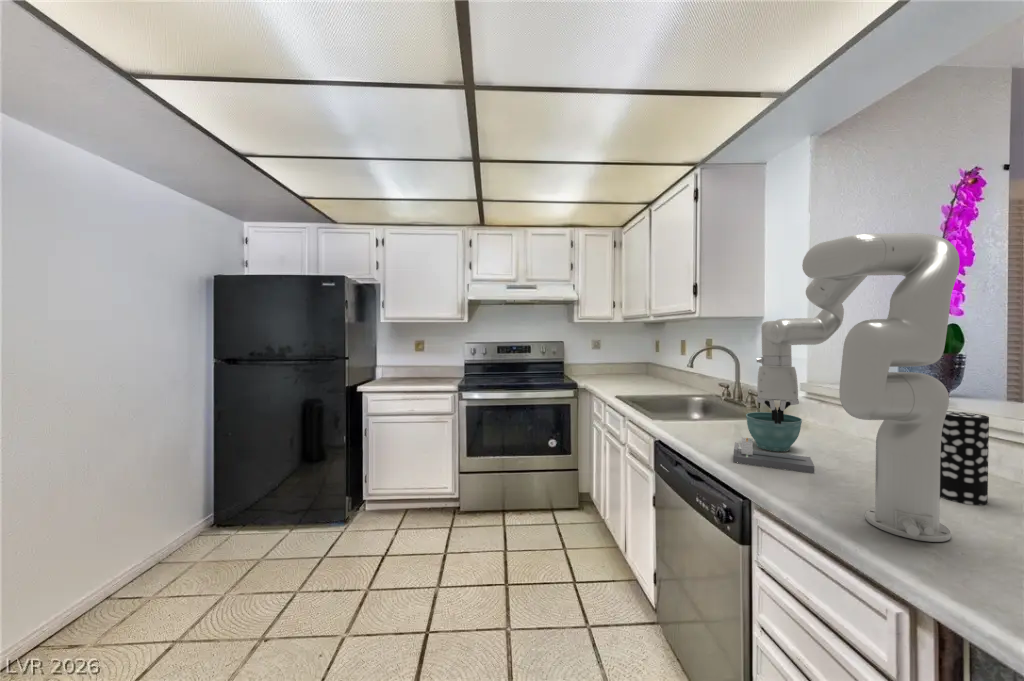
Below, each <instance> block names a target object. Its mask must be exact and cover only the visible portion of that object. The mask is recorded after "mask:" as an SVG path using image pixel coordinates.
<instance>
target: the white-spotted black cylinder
mask: <svg viewBox="0 0 1024 681" xmlns="http://www.w3.org/2000/svg"><path fill="white" fill-rule="evenodd" d="M989 435H990V417H989V416H988V415H984V414H979V413H972V412H965V411H964V412H963V411H951V410H950V411H949V410H947V413H946V417H945V420H944V424H943V429H942V436H941V457H940V498H943V499H946V500H948V501H952V502H956V503H960V504H964V505H971V506H972V505H973V506H985V505H986V506H987V505H988V504H987V503H988V502H989V499H988V496H989V495H988V494H989V492H988V491H989V442H990V439H989V437H990V436H989Z"/></svg>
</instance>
